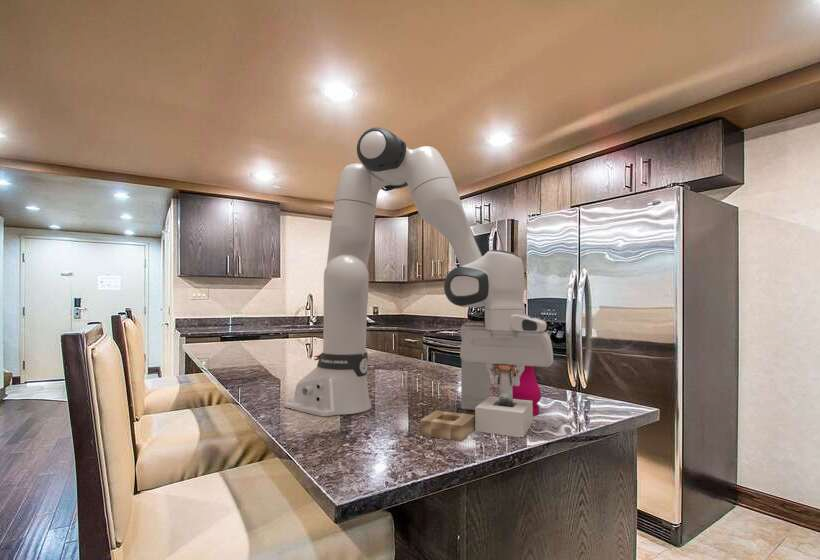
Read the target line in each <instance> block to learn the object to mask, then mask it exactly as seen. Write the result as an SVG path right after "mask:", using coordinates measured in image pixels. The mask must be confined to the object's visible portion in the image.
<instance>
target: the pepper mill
mask: <svg viewBox="0 0 820 560" xmlns="http://www.w3.org/2000/svg"><path fill="white" fill-rule="evenodd" d="M516 372H517V373H516V375H517V374H518V372H519V370H517V371H516ZM535 374H536V373H535V366H525V369H524V371H523V373H522V375H521V376H520V384H519V386H513V399H520V400H530V401H533V416H537V415H539V414H540V405H538V403H539V402H540V400H541V398H542V393H541V389H540V386H539V384H538V381H537V378H536V376H535Z"/></svg>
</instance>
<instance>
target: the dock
mask: <svg viewBox="0 0 820 560" xmlns="http://www.w3.org/2000/svg"><path fill="white" fill-rule="evenodd" d="M474 415H475V430H474V431H475V432H478V433H484V432H485V434H492V435H498V434H499V435H500V436H505V435H506V436H508V437H514V438H520V437H522V438H521V439H524V437H525V436H526V434H527V433H528V431H529V429H530V428H531V427H532V425H533V421H534V420H533V419H534V417H533V416H534V415H533V401H530V400H520V399H513V407H505V406H499V396H491V395H490V396H489V397H488V398H487V399H486V400H484V401H483V402H482V403H480V404H479V405H478V406H477V407H475V410H474Z"/></svg>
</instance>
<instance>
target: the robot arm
mask: <svg viewBox="0 0 820 560" xmlns="http://www.w3.org/2000/svg"><path fill="white" fill-rule="evenodd" d="M356 154H357V158H358V160H359V161H360V162H359V163H349V164H348V165H346V166H345V167H344V168H343V169H342V170H341V173H340V176H339V179H338V182H337V187H336V190H335V194H334V200H333V209H332V215H331V216H332V217H331V222H330V223H331V224H330V230H329V231H330V233H329V242H328V251H327V260H326V261H327V262H326V267H325V268H324V272H323V333H322V334H323V339H322V341H323V342H322V343H323V344H322V352H321V353H320V354H318V355H314V356H313V358H314V359H313V360H314V361H317V365H316V367H315V368H314V369H313V370H311V371H310V372H309V373H307V374H306V375H305V376H304V377H302V379H300V380H299V381H298V382H297V384H296V386H295V390H294V398H292V399H290V400H288V401H286V402H285V403H284V407H285V408H286V407H287V408H286V409H289V408H291V409H290V410H294V409H295V410H294V411H298V412H302V413H307V414H311V415H315V416H320V417H329V416H338V415H353V414H359V413H363V412H366V411H369V410H371V409H372V407H373V406H372V403H371V399H370V393H369V386H368V377H367V376H368V368H369V364H368V363H369V361H368V360H369V358H368V357H369V356H368V353H369V352H367V323H368V322H367V319H368V306H369V305H368V303H369V301H368V299H369V279H370V277H369V270H368V267H369V266H368V265H369V259H370V254H371V253H370V251H371V246H372V241H373V233H374V228H375V227H374V226H375V217H376V209H377V200H378V195H379V192H380V190H383V191H384V192H390V191H392V190H396V189H397V190H399V189H403V188H406V187H408V189H409V192H410V196H411V198H412V201H413V204H414V206H415V208H416V209H415V210H417V213H418V214H419V215H420V217H421V220H423V221H424V222H425V223H426V224H428V225H429V226H430V227H432V228H433V229H434V230H436V231H437V232H438V233H440V234H441V235H442V236H443V237H444V238H445V240H447V241H448V243H449V245H450V246H451V248H452V251H453V252H454V255H455V257H456V259H457V262H458V264H459V266H458V267H454V268H453V269H451V270H450V271H449V272H448V273H447V274H446V276H445V279H444V283H443V291H444V294H445V296H446V299H448V301H449V302H450V303H451V304H453V305H455V306H458V307H461V308H475V309H476V308H477V309H481V310H482V309H483V310H484V321H466V322H465V323H463V324H461V327H460V333H459V335H460V338H461V342H460V343H461V344H460V350H459V357H460V359H461V362H462V361H463V362H473V363H486V367H487V370H488V372H489V374H490V377H491V384H492V385H499V374H498V375H497V374H496V372H495V370H494V368H495V367H496V365H497V364H506V365H514V366H515V367H516V368H515V370H516V371H517V372H518V370H519V372H518V374H517V373H516V376H512V378H511V381H512V383H511V385H512V386H519V384H520V376H521V375H522V373H523V371H524V369H525V366H534V367H541V368H548V367H550V366H551V365H552V364H553V363H554V352H553V351H554V349H553V345H552V339H551V336H550V334H549V333H547V331H546V330H547V326H548V325H547V322H546V321H545V320H543V319H540V318H536V317H534V316H532V315H531V316H529V315H527V314H526V307H525V303H524V302H525V301H524V294H525V290H526V287H525V285H526V283H525V270H524V265H523V260H522V257H521V256H519V255H518V254H517V253H516V252H512V251H506V250H501V249H490V250H488V251H487V252H485V253H484V255H483V253H482V251H481V248H480V246H479V245H478V242H477V239H476V238H475V235H474V232H473V230H472V229H471V226H470V224H469V221H468V218H467V215H466V212H465V211H464V207H463V204H462V201H461V199H460V194H459V193H458V192H459V191H458V189H457V186H456V183H455V181H454V178H453V176H452V174H451V171H450V168H449V166H448V165H447V163H446V161H445V159H444V157H443V156H442V155H441V153H440V152H439V151H438V149H436V148H435V147H433V146H430V145H429V146H428V145H423V146H419V147H417V148H413V149H410V148H408V147H407V144H406V142H405V141H404V140H402V139H401V138H400V137H398V136H397V135H396V134H395V133H393V132H392V131H390V130H388V129H386V128H384V127H380V126H379V127H378V126H377V127H371V128H369V129H367V130H366V131H364V132H363V133H362V134H361V135H360V137H359V139H358V141H357V144H356Z"/></svg>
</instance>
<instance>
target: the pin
mask: <svg viewBox="0 0 820 560" xmlns="http://www.w3.org/2000/svg"><path fill="white" fill-rule="evenodd" d="M496 369H497V370H498V375H499V384H498V397H499V406H505V407H513V386H512V385H511V383H512V381H511V378H512V377H513V370H515V365H506V364H496Z"/></svg>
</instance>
